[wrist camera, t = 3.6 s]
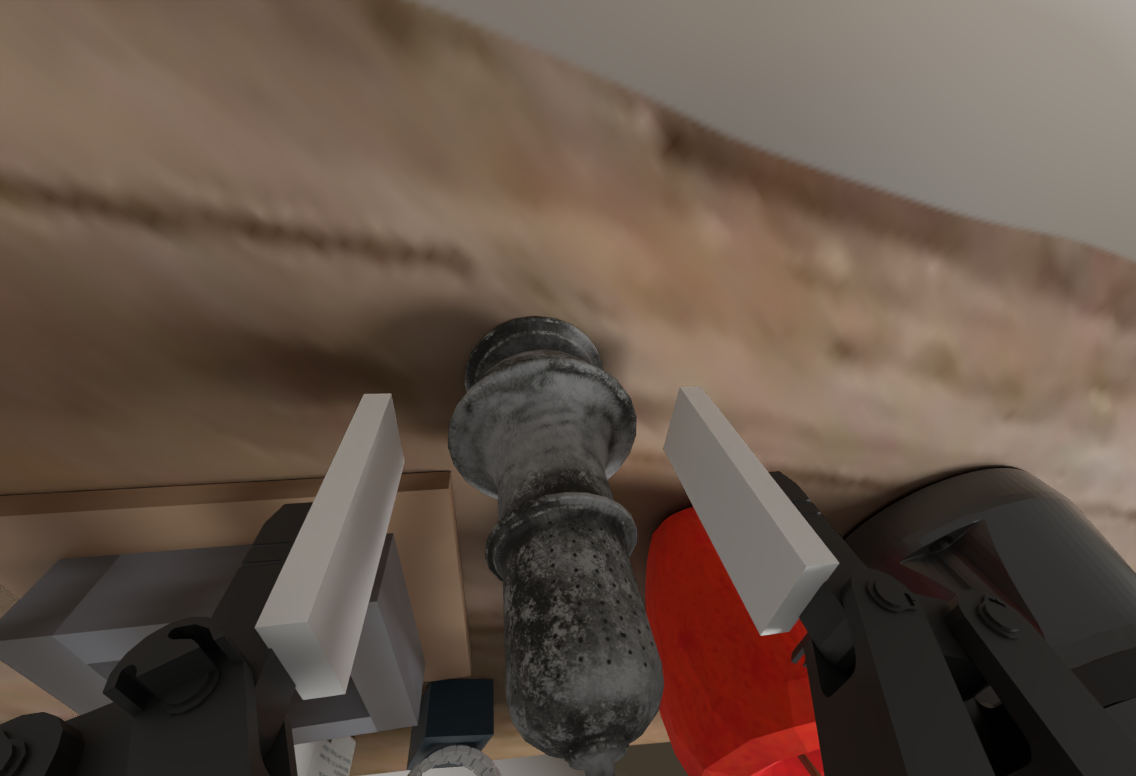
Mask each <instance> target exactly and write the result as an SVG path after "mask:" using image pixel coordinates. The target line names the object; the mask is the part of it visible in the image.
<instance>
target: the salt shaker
mask: <svg viewBox="0 0 1136 776" xmlns="http://www.w3.org/2000/svg"><path fill="white" fill-rule="evenodd" d="M465 389H466V392H467V393H466V394H465V395H464V397H463V398H462V399H461V400H460V401H459V403H458V404H457V406H456V408H455V411H454V413H453V416H452V418H451V421H450V423H449V431H448V449H449V452H450V455H451V458H452V461H453V464H454V466H455V467H456V469H457V470H458V471H459V473H460V474H461V475H462V477H463V478H464V479H465V481H467V482H468V483H469V484H471V485H472V486H473V487H475V488H476V489H477V490H479V491H480V492H481V493H483V494H485V495H488V496H490V497H493V498H495V499H497V500H498V523H497V524H496V525H495V526H494V527H493V529H492V531H491V533H490V535H489V537H488V539H487V542H486V552H485V558H486V560H487V563H488V566H489V569H490V570H491V571H492V572H493V574H494V575H495V576H496V577H497V578H498V579H499V580H501V581H502V582H503V600H504V642H505V684H506V700H507V704H508V709H509V714H510V717H511V720H512V722H513V724H514V726H515V727H516V728H517V730H518V731H519V733H520V734H521V736H522V737H523V738H524V740H525V741H526V742H528V743H529V744H531V745H532V746H534V747H536V748H537V749H539V750H540V751H542V752H544V753H545V754H547V755H549V756H553V757H556V758H563V759H565V761H567V762H568V763H569V765H570V767H572V768H573V769H577V770H585V773H586V776H615V762H617V761H619V760H620V759H622V758H623V757H624V756H625V755H626V752H627V748H628V746H629V744H630V743H631V742H633V741H635V740H636V739H637V738H639V737H640V736H641V735H642V734H643V733H644V731H645V730H646V728H647V727H648V725H649V724H650V723H651V721H652V720H653V718H654V717H655V715H656V714H657V712H658V710H659V706H660V703H661V699H662V695H663V689H664V677H663V669H662V662H661V659H660V656H659V653H658V650H657V646H656V643H655V640H654V637H653V634H652V630H651V627H650V624H649V621H648V618H647V614H646V611H645V608H644V605H643V602H642V598H641V595H640V592H639V589H638V586H637V582H636V579H635V576H634V573H633V570H632V566H631V563H630V560H629V557H630V556H631V555H632V552H633V550H634V548H635V545H636V543H637V528H636V525H635V523H634V520H633V518H632V516H631V514H630V513H629V512H628V511H627V510H626V509H625V508H624V507H623V506H622V505H621V504H619V503H617V502H615V501H614V499H613V495H612V492H611V489H610V486H609V483H608V479H609V478H610V477H611V476H612V475H613V474H614V473H615V472H616V471H618V469H619V468H620V467H621V465H622V464H623V462H624V461H625V459H626V458H627V456H628V455H629V454H630V451H631V448H632V445H633V443H634V440H635V437H636V414H635V411H634V408H633V405H632V401H631V398H630V396H629V395H628V394H627V393H626V391H625V390H624V389H623V387H622V386H621V385H620V383H619V382H618V381H617V380H616V379H615V378H613V377H612V376H610V375H609V374H607V373H606V372H605V371H603V364H602V361H601V359H600V356H599V353H598V350H597V348H596V347H595V345H594V344H593V343H592V341H591V340H590V339H589V337H588V336H587V335H586V334H584V333H583V332H582V331H580V330H579V329H578V328H576V327H575V326H574V325H571V324H569V323H566V322H564V321H561V320H558V319H556V318H547V317H538V316H534V317H527V318H520V319H515V320H512V321H510V322H507V323H505V324H502V325H500V326H498V327H496V328H495V329H494V330H492V331H491V332H490V333H488V334H487V335H485V336H484V337H483V338H482V339H481V340H480V342H479V343H478V344H477V345H476V347H475V348H474V349H473V351H472V352H471V355H470V357H469V360H468V362H467V365H466V368H465Z"/></svg>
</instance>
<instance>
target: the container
mask: <svg viewBox="0 0 1136 776" xmlns="http://www.w3.org/2000/svg"><path fill="white" fill-rule="evenodd" d="M355 746H356V742H355V740H354V739H353V738H352V737H351V736H348V737H341V738H335V739H329V740H322V741H316V742H310V743H303V744H297V745H294V750H295V758H296V765H297V773H298V776H349V773H350V769H351V764H352V759H353V755H354V750H355Z"/></svg>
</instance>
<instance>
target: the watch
mask: <svg viewBox="0 0 1136 776" xmlns="http://www.w3.org/2000/svg"><path fill="white" fill-rule="evenodd" d="M493 734H494V711H493V680H489V679H445V680H438V681H431V682H430V683H429V685H428V687H427V689H426V691H425V693H424V695H423V697H422V699H421V703H420V711H419V720H418V726H412V733H411V740H410V748H409V756H408V763H407V770H411V771H410V773H409V774H408V776H422V773H423V772H426V771H427V770H429V769H431V768H445V767H459V766H464V767H466V768H468V769H470V770H473V769H474V773H475V774H476V775H477V776H502V775H501V773H500V771H499V770H498V768H497V767H496V766H495V764H494V763H493V761H492V760H491V759H490V758H489V757H488V756H487V755H484V753H483V752H481V750H482V749H483V748H484V746H485V745H486V744H487V742H488V741H489V740H490V738H491V737H492V736H493ZM483 755H484V756H483ZM494 766H495V767H494ZM493 767H494V768H493ZM485 768H486V769H485Z"/></svg>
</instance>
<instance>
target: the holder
mask: <svg viewBox="0 0 1136 776" xmlns="http://www.w3.org/2000/svg"><path fill="white" fill-rule="evenodd" d="M323 480H324V478H317V479H299V480H281V481H263V482H244V483H226V484H208V485H190V486H171V487H153V488H135V489H116V490H98V491H80V492H62V493H43V494H25V495H7V496H0V584H1V585H2V586H3V587H4V588H5V589H7V590H8V591H9V592H10V593H11V594H13V595H14V596H15V597H16V598H17V599H19V601H18V602H17V603H16V604H15V605H14V606H13V607H12V608H11V609H10V610H9V611H8V612H7V613H6V614H5V615H4V616H3V617H2V618H1V619H0V660H1V661H2V662H4V663H5V664H7V665H8V666H10V667H11V668H13V669H14V670H16V671H17V672H18V673H20V674H21V675H23V676H24V677H26V678H27V679H29V680H30V681H32V682H33V683H35V684H36V685H37V686H39V687H40V688H42V689H43V690H45V691H46V692H48V693H49V694H51V695H52V696H53V697H55V698H56V699H58V700H59V701H61V702H62V703H64V704H65V705H67V706H68V707H70V708H71V709H72V710H74V711H75V712H77V713H78V714H80V715H83V714H85V713H88V712H90V711H93V710H95V709H98V708H100V707H102V706H105V705H107V704H110V703H112V702H113V701H112V700H111V699H109V698H108V697H107V696H105V695H104V694H103V693H102V692H103V690H104V687H105V685H106V682H107V680H108V677H109V675H110V673H111V672H112V670H113V669H114V668H115V667H116V665H117V664H118V663H119V662H120V660H121V659H122V658H123V657H124V655H125V654H126V653H127V652H128V651H129V650H131V649H132V648H133V647H134V646H136V645H137V644H138V643H139V642H140V641H142V640H143V639H144V638H145V637H146V636H148V635H150V634H151V633H153V632H155V631H157V630H159V629H160V628H162V627H164V626H166V625H168V624H169V623H172V622H176V621H179V620H182V619H186V618H189V617H209V618H211V617H212V615H213V613H214V611H215V610H216V608H217V606H218V604H219V602H220V601H221V599H222V597H223V595H224V594H225V592H226V590H227V588H228V587H229V585H230V583H231V581H232V579H233V578H234V576H235V574H236V572H237V571H238V569H239V567H242V562H243V560H244V558H245V556H246V555H247V553H248V551H249V549H252V544H253V542H254V541H255V539H256V537H257V535H258V533H259V532H260V530H261V528H262V526H263V525H264V523H265V522H266V521H267V520H268V519H269V518H270V517H271V516H272V515H273V514H274V513H276V512H277V511H278V510H279V509H280V508H281V507H282V506H283V505H284V504H290V503H306V502H314V500H315V497H316V495H317V493H318V491H319V489H320V487H321V485H322V482H323ZM471 662H472V657H471V648H470V640H469V631H468V622H467V613H466V604H465V595H464V586H463V577H462V568H461V559H460V551H459V542H458V533H457V524H456V515H455V506H454V497H453V488H452V479H451V471H445V472H427V473H409V474H401V478H400V482H399V486H398V490H397V494H396V498H395V502H394V506H393V510H392V514H391V517H390V521H389V525H388V529H387V533H386V537H385V541H384V545H383V549H382V553H381V557H380V560H379V564H378V568H377V572H376V576H375V580H374V584H373V588H372V592H371V596H370V600H369V603H368V607H367V611H366V615H365V619H364V623H363V627H362V631H361V635H360V639H359V643H358V646H357V650H356V654H355V658H354V662H353V666H352V670H351V674H350V678H349V682H348V686H347V690H346V693H345V694H342V695H335V696H328V697H321V698H314V699H307V700H303V699H302V698H301V696H300V695H299V693H298V692H297V690H296V689H295V690H294V693H293V696H292V699H291V702H290V704H289V707H288V710H287V715H288V717H289V719H290V722H291V727H292V734H293V742H294V745H297V744H303V743H310V742H316V741H322V740H329V739H335V738H341V737H348V736H354V735H361V734H367V733H373V732H380V731H386V730H392V729H399V728H405V727H411V726H418V720H419V711H420V703H421V695H422V687H423V683H424V682H431V681H438V680H445V679H452V678H459V677H466V676H471Z"/></svg>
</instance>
